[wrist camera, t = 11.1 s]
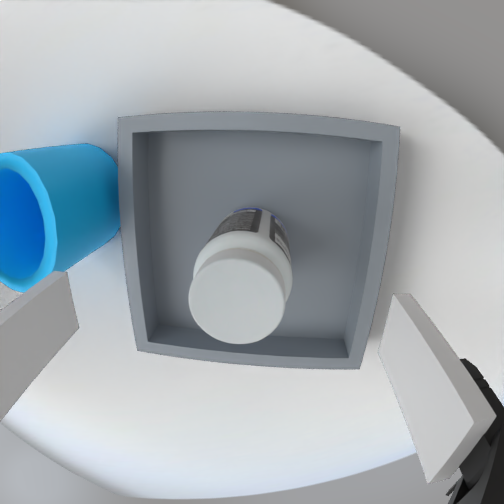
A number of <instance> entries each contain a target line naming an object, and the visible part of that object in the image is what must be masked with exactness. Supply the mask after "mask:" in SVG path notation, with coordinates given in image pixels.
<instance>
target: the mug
mask: <svg viewBox="0 0 504 504" xmlns="http://www.w3.org/2000/svg"><path fill="white" fill-rule="evenodd" d="M120 226H121V224H120V209H119V189H118V167H117V165H116V164H115V162H114V160H113V159H112V157H110V156H109V155H108V154H107V153H106V152H104V151H103V150H102V149H101V148H99V147H96V146H93V145H90V144H87V143H86V144H73V145H62V146H52V147H43V148H35V149H27V150H20V151H13V152H6V153H0V282H2V283H3V284H5V285H6V286H8V287H9V288H11V289H12V290H15V291H19V292H23V293H24V292H26V291H27V290H28V289H30V288H31V287H32V286H34V285H35V284H37V283H38V282H39V281H41V280H42V279H43V278H45V277H46V276H48V275H49V274H50V273H52V272H53V271H60V272H64V271H66V270H67V269H68V268H70V267H71V266H73V265H74V264H76V263H77V262H79V261H80V260H82V259H83V258H85V257H86V256H87V255H89V254H90V253H92V252H93V251H95V250H97V249H98V248H100V247H101V246H103V245H104V244H105V243H107V242H108V241H109V240H110V239H112V238H113V237H114V236H115V234H116V233H117V231H118V229H119V228H120Z"/></svg>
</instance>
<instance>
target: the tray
mask: <svg viewBox="0 0 504 504" xmlns="http://www.w3.org/2000/svg"><path fill="white" fill-rule="evenodd" d="M399 140H400V127H398V126H393V125H387V124H380V123H374V122H367V121H360V120H352V119H344V118H335V117H326V116H315V115H303V114H288V113H269V112H183V113H164V114H149V115H138V116H127V117H118V189H119V209H120V224H121V236H122V247H123V257H124V267H125V275H126V283H127V291H128V298H129V305H130V311H131V318H132V324H133V330H134V335H135V341H136V346H137V351H142V352H147V353H154V354H160V355H166V356H173V357H180V358H187V359H195V360H203V361H212V362H221V363H231V364H241V365H253V366H267V367H283V368H304V369H360V366H361V362H362V359H363V355H364V352H365V348H366V344H367V340H368V336H369V332H370V328H371V324H372V320H373V316H374V312H375V307H376V303H377V298H378V294H379V289H380V284H381V279H382V274H383V269H384V263H385V258H386V252H387V246H388V240H389V233H390V227H391V220H392V212H393V205H394V196H395V187H396V178H397V167H398V155H399ZM245 207H257V208H261V209H264V210H267V211H269V212H271V213H272V214H274V215H275V216H276V217H277V218H278V219H279V220H280V221H281V222H282V223H283V225H284V227H285V229H286V231H287V234H288V238H289V246H290V257H291V266H292V273H293V282H292V288H291V292H290V295H289V297H288V299H287V301H286V303H285V311H284V314H283V317H282V320H281V322H280V323H279V325H278V326H277V328H276V329H275V330H274V331H273V332H272V333H271V334H269V335H268V336H266V337H265V338H263V339H261V340H259V341H256V342H253V343H248V344H231V343H226V342H223V341H220V340H217V339H215V338H214V337H212V336H210V335H209V334H207V333H206V332H205V331H204V330H203V329H202V328H201V327H200V326H199V325H198V324H197V322H196V321H195V320H194V318H193V316H192V314H191V311H190V307H189V300H188V298H189V290H190V286H191V283H192V281H193V272H194V266H195V262H196V259H197V257H198V255H199V253H200V251H201V250H202V248H203V247H204V246H205V244H206V243H207V242H208V240H209V239H210V237H211V236H212V234H213V233H214V231H215V230H216V229H217V227H218V226H219V224H220V223H221V222H222V220H223V219H224V218H225V217H226V216H227V215H229V214H230V213H231V212H233V211H235V210H238V209H241V208H245Z"/></svg>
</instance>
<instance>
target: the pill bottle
mask: <svg viewBox="0 0 504 504" xmlns="http://www.w3.org/2000/svg"><path fill="white" fill-rule="evenodd" d="M292 282H293V273H292V266H291V257H290V246H289V238H288V234H287V231H286V229H285V227H284V225H283V223H282V222H281V221H280V220H279V219H278V218H277V217H276V216H275V215H274V214H272V213H271V212H269V211H267V210H264V209H261V208H257V207H245V208H241V209H238V210H235V211H233V212H231V213H230V214H229V215H227V216H226V217H225V218H224V219H223V220H222V222H221V223H220V224H219V226H218V227H217V229H216V230H215V231H214V233H213V234H212V236H211V237H210V239H209V240H208V242H207V243H206V244H205V246H204V247H203V248H202V250H201V251H200V253H199V255H198V257H197V259H196V262H195V266H194V272H193V281H192V283H191V286H190V290H189V298H188V300H189V307H190V311H191V314H192V316H193V318H194V320H195V321H196V322H197V324H198V325H199V326H200V327H201V328H202V329H203V330H204V331H205V332H206V333H207V334H209V335H210V336H212V337H214V338H215V339H217V340H220V341H223V342H226V343H231V344H248V343H253V342H256V341H259V340H261V339H263V338H265V337H266V336H268V335H269V334H271V333H272V332H273V331H274V330H275V329H276V328H277V326H278V325H279V323H280V322H281V320H282V317H283V314H284V311H285V303H286V301H287V299H288V297H289V295H290V292H291V288H292Z"/></svg>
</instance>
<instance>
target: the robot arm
mask: <svg viewBox="0 0 504 504" xmlns="http://www.w3.org/2000/svg"><path fill="white" fill-rule="evenodd" d="M78 329H79V325H78V321H77V316H76V312H75V308H74V303H73V299H72V294H71V289H70V284H69V279H68V274H67V272H60V271H53V272H52V273H50V274H49V275H48V276H46V277H45V278H43V279H42V280H41V281H39V282H38V283H37V284H35V285H34V286H32V287H31V288H30V289H28V290H27V291H26V292H24V293H23V294H22V295H20V296H19V297H18V298H16V299H15V300H14V301H12V302H11V303H10V304H9V305H7V306H6V307H5V308H3V309H2V310H1V311H0V422H1V420H2V419H3V418H4V417H5V415H6V414H7V413H8V411H9V410H10V409H11V408H12V406H13V405H14V404H15V403H16V401H17V400H18V399H19V398H20V396H21V395H22V394H23V393H24V391H25V390H26V389H27V388H28V386H29V385H30V384H31V383H32V382H33V380H34V379H35V378H36V377H37V376H38V374H39V373H40V372H41V371H42V370H43V368H44V367H45V366H46V365H47V364H48V363H49V361H50V360H51V359H52V358H53V357H54V356H55V355H56V353H57V352H58V351H59V350H60V349H61V348H62V347H63V345H64V344H65V343H66V342H67V341H68V340H69V339H70V338H71V336H72V335H73V334H74V333H75V332H76V331H77V330H78ZM378 354H379V356H380V359H381V361H382V363H383V366H384V368H385V370H386V373H387V375H388V378H389V380H390V383H391V385H392V387H393V390H394V392H395V395H396V397H397V400H398V403H399V405H400V408H401V410H402V413H403V415H404V418H405V421H406V423H407V426H408V429H409V431H410V434H411V437H412V440H413V442H414V445H415V448H416V451H417V454H418V456H419V459H420V462H421V465H422V468H423V471H424V474H425V477H426V480H427V484H431V483H435V482H439V481H443V480H446V479H449V478H450V477H451V476H452V475H453V474H454V473H455V472H456V470H457V469H458V468H460V470H461V472H462V476H461V478H460V479H459V480H458V481H457V482H456V483H455V484H454V485H453V486H452V487H451V488H450V489H449V491H448V492H447V494H446V495H447V496H449V494H451V493H452V492H453V494H452V496H451V498H450V501H449V503H448V504H504V407H503V405H502V404H501V402H500V401H499V399H498V398H497V396H496V395H495V393H494V392H493V390H492V389H491V388H489V384H488V383H487V381H486V380H484V379H483V378H484V377H483V376H482V374H481V373H480V372H479V370H478V369H477V367H476V366H474V365H473V364H472V363H470V362H469V361H468V360H466V359H459V358H458V356H457V355H456V354H455V352H454V351H453V349H452V348H451V347H450V345H449V344H448V342H447V341H446V340H445V338H444V337H443V336H442V334H441V333H440V332H439V330H438V329H437V327H436V326H435V325H434V324H433V322H432V321H431V320H430V318H429V317H428V316H427V314H426V313H425V312H424V310H423V309H422V308H421V307H420V305H419V304H418V303H417V301H416V300H415V299H414V298H413V296H412V295H411V294H393V296H392V301H391V305H390V309H389V313H388V317H387V321H386V325H385V328H384V332H383V336H382V339H381V343H380V346H379V350H378Z"/></svg>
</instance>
